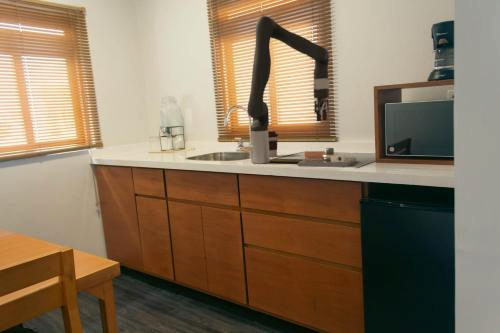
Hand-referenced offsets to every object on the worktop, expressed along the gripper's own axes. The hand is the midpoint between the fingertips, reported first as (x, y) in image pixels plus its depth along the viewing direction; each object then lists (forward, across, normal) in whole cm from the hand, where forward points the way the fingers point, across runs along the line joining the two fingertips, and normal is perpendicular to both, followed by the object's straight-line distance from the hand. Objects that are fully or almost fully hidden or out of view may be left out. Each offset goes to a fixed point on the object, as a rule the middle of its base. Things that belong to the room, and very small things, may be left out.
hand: (321, 120), depth 200 cm
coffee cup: (+22, -19, -39) cm, 49 cm away
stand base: (+21, +7, +5) cm, 22 cm away
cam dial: (+18, +6, +1) cm, 19 cm away
